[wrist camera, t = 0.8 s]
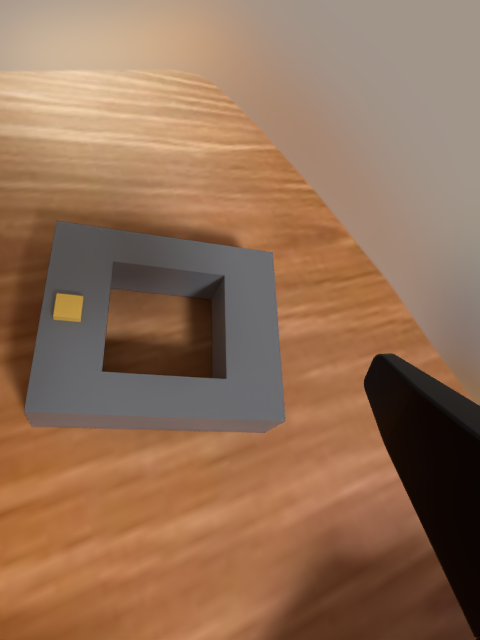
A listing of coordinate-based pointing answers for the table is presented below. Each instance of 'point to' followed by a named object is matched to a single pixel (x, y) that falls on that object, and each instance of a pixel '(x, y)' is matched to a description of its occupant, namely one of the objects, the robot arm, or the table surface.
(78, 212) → the table surface
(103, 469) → the table surface
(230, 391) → the port panel
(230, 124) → the table surface
